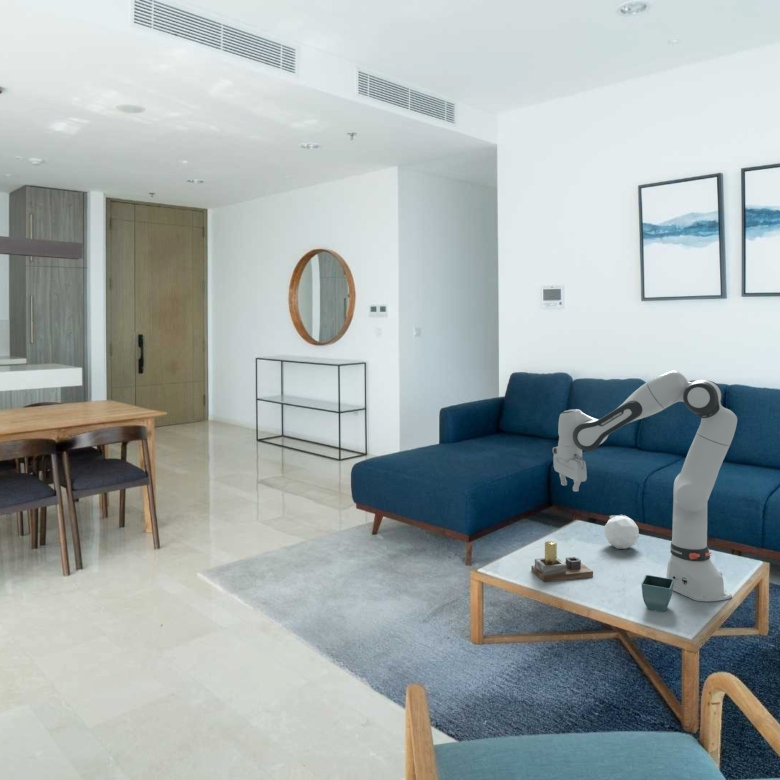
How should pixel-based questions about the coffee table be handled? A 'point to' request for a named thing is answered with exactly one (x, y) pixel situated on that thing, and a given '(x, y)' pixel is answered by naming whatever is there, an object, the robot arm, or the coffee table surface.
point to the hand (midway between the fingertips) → (569, 488)
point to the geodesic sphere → (621, 531)
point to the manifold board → (561, 570)
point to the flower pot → (657, 592)
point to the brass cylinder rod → (550, 553)
